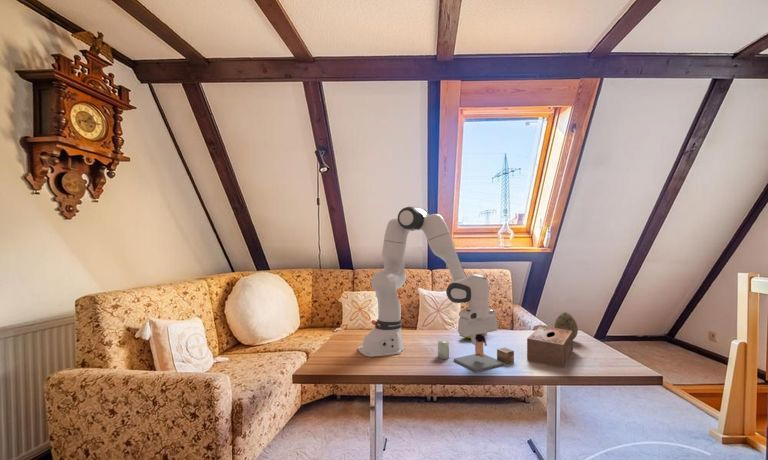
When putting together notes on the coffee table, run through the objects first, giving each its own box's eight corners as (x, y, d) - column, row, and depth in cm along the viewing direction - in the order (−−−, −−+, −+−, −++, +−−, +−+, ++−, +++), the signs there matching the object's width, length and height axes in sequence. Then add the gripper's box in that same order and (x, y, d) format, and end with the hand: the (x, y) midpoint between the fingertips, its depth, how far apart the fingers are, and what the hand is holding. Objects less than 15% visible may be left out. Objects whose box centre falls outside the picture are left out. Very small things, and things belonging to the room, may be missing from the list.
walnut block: (505, 364, 149) (505, 352, 149) (497, 360, 153) (497, 349, 153) (513, 362, 151) (513, 350, 151) (504, 358, 156) (504, 347, 156)
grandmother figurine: (488, 356, 149) (489, 326, 150) (486, 358, 146) (486, 328, 147) (471, 352, 154) (472, 324, 154) (468, 354, 151) (469, 325, 151)
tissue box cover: (540, 345, 174) (540, 325, 174) (572, 351, 165) (572, 330, 165) (527, 360, 153) (527, 338, 153) (563, 368, 145) (563, 344, 145)
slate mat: (476, 372, 140) (476, 369, 140) (453, 360, 152) (453, 358, 152) (504, 365, 148) (504, 362, 148) (480, 354, 160) (480, 352, 160)
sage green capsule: (442, 359, 154) (442, 344, 154) (435, 356, 158) (435, 340, 158) (451, 357, 156) (451, 342, 156) (444, 354, 161) (444, 339, 161)
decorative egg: (553, 337, 187) (552, 309, 187) (575, 339, 184) (575, 310, 184) (556, 343, 177) (556, 313, 177) (579, 345, 174) (579, 315, 174)
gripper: (490, 307, 158) (490, 338, 158) (455, 312, 148) (455, 344, 148) (501, 310, 152) (501, 341, 152) (465, 316, 143) (465, 349, 143)
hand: (478, 343), depth 150 cm, fingers closed on grandmother figurine, 3 cm apart
